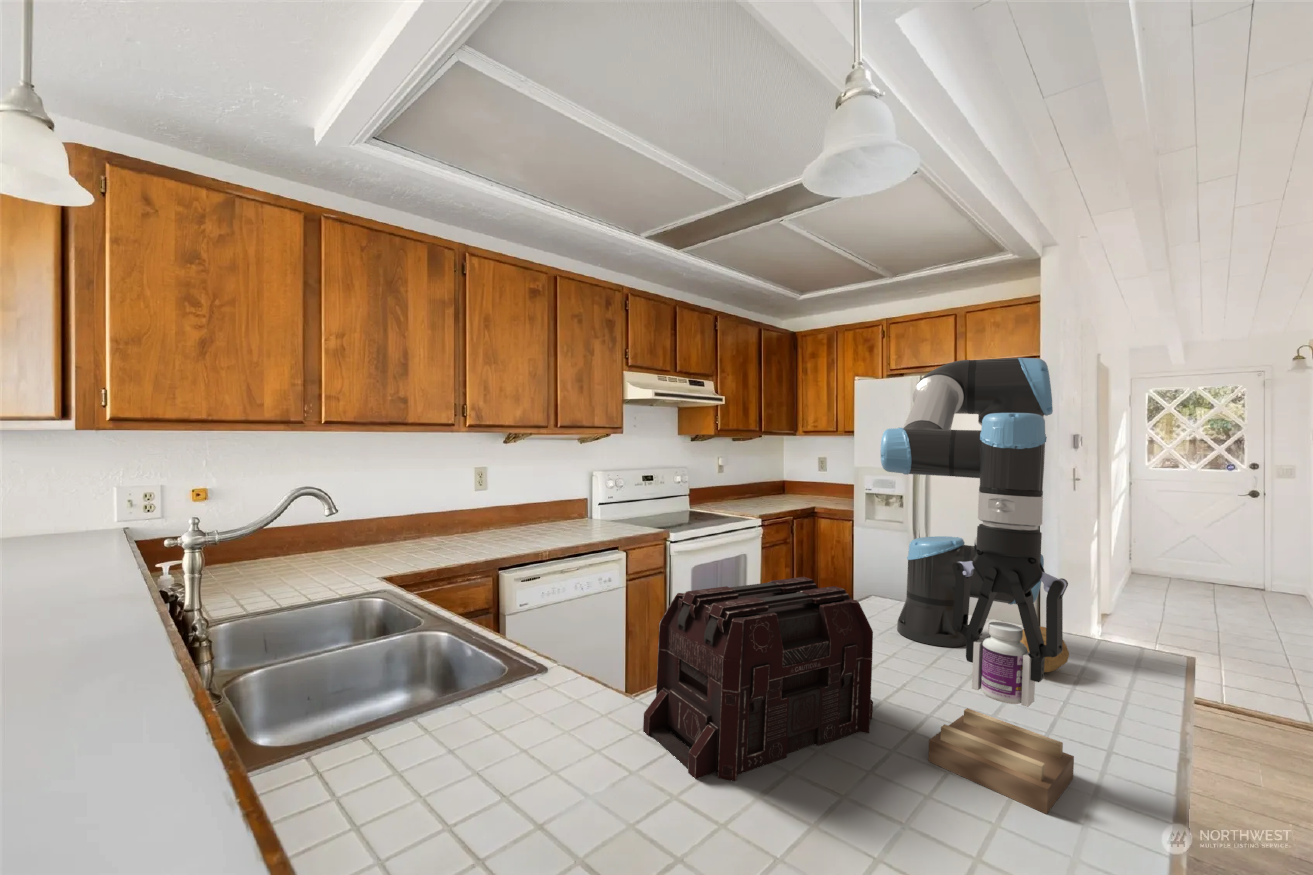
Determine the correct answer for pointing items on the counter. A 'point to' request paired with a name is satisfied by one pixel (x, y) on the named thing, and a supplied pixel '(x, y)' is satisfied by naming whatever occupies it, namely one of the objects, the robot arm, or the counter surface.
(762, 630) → the crate
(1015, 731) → the display pedestal
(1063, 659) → the potato
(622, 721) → the counter surface
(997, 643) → the pill bottle
